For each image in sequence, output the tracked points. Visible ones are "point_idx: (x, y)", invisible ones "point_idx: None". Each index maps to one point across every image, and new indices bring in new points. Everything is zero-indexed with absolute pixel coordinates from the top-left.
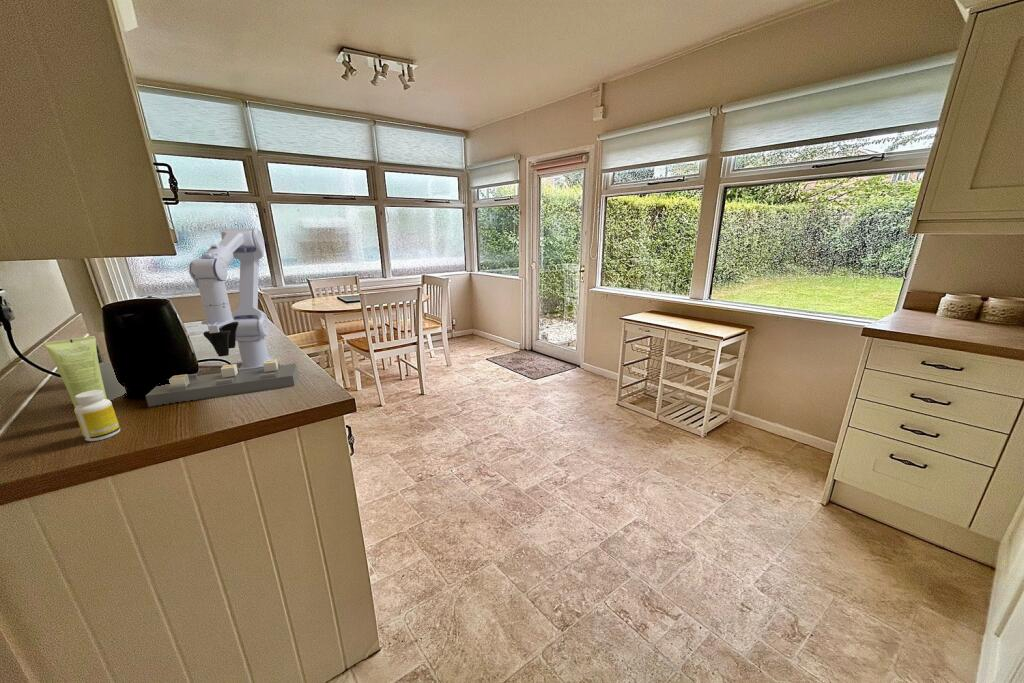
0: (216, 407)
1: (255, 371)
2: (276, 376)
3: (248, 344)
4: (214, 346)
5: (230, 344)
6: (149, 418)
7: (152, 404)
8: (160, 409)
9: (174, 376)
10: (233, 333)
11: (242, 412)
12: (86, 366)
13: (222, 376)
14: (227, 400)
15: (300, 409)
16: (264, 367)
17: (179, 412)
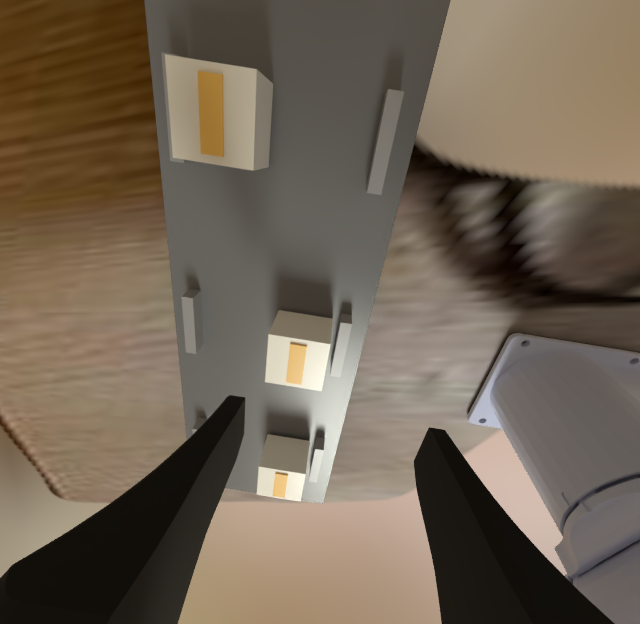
0: (86, 268)
1: (304, 409)
2: None
3: (562, 486)
4: (172, 459)
5: (427, 475)
6: (16, 6)
7: None
8: (122, 36)
9: (237, 84)
10: (443, 602)
11: (28, 336)
12: None
13: (278, 312)
14: (144, 297)
15: (27, 439)
16: (263, 451)
17: (64, 141)
